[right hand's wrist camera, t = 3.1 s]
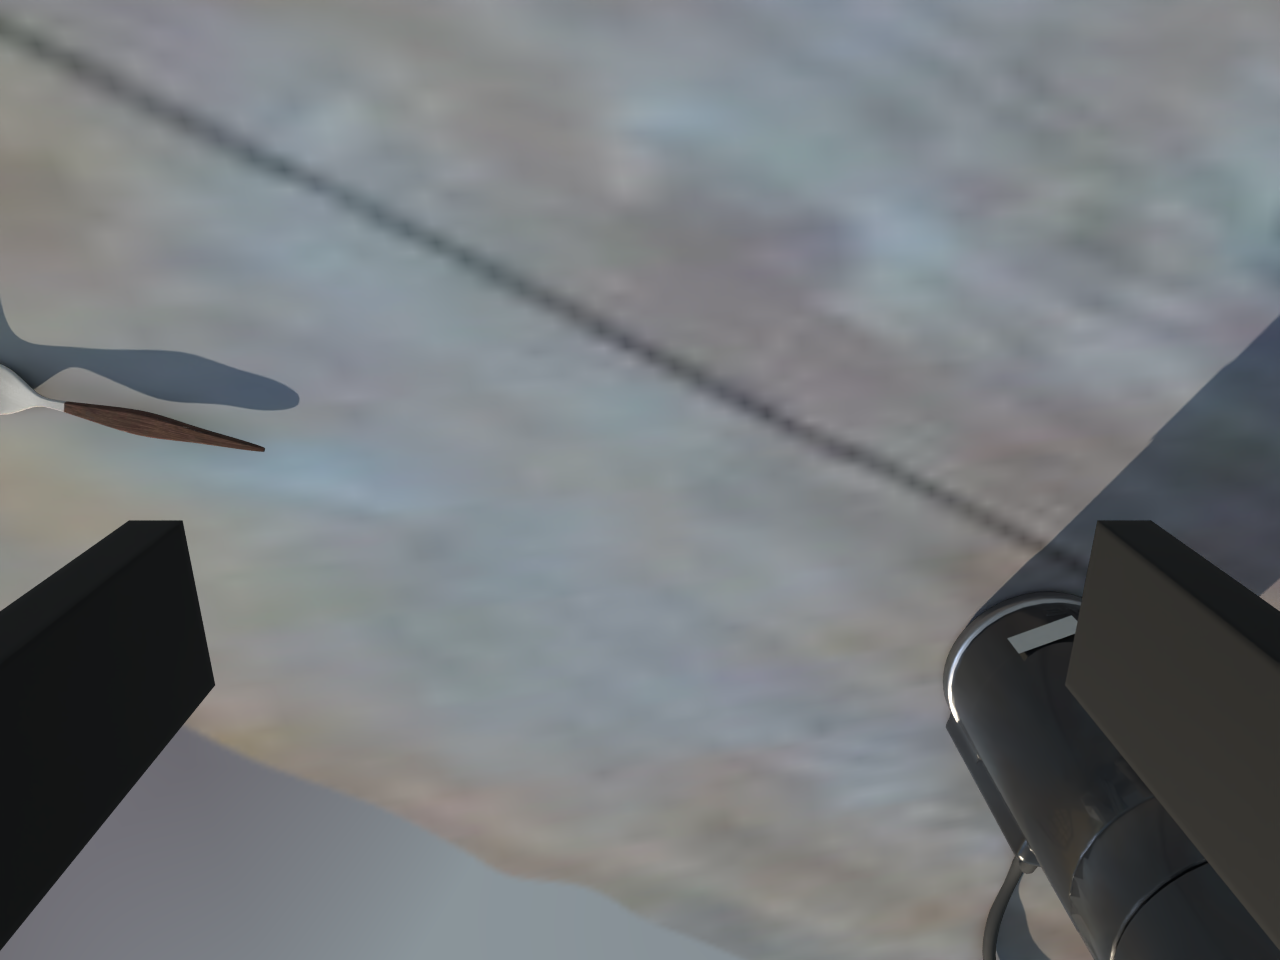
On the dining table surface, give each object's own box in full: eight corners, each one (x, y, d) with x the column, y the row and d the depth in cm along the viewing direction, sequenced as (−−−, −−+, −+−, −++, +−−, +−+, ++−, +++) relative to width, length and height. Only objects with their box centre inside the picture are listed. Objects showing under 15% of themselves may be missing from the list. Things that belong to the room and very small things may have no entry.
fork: (266, 472, 42) (249, 486, 40) (-80, 397, 40) (-115, 409, 38) (271, 420, 41) (253, 433, 39) (-83, 343, 39) (-119, 352, 37)
